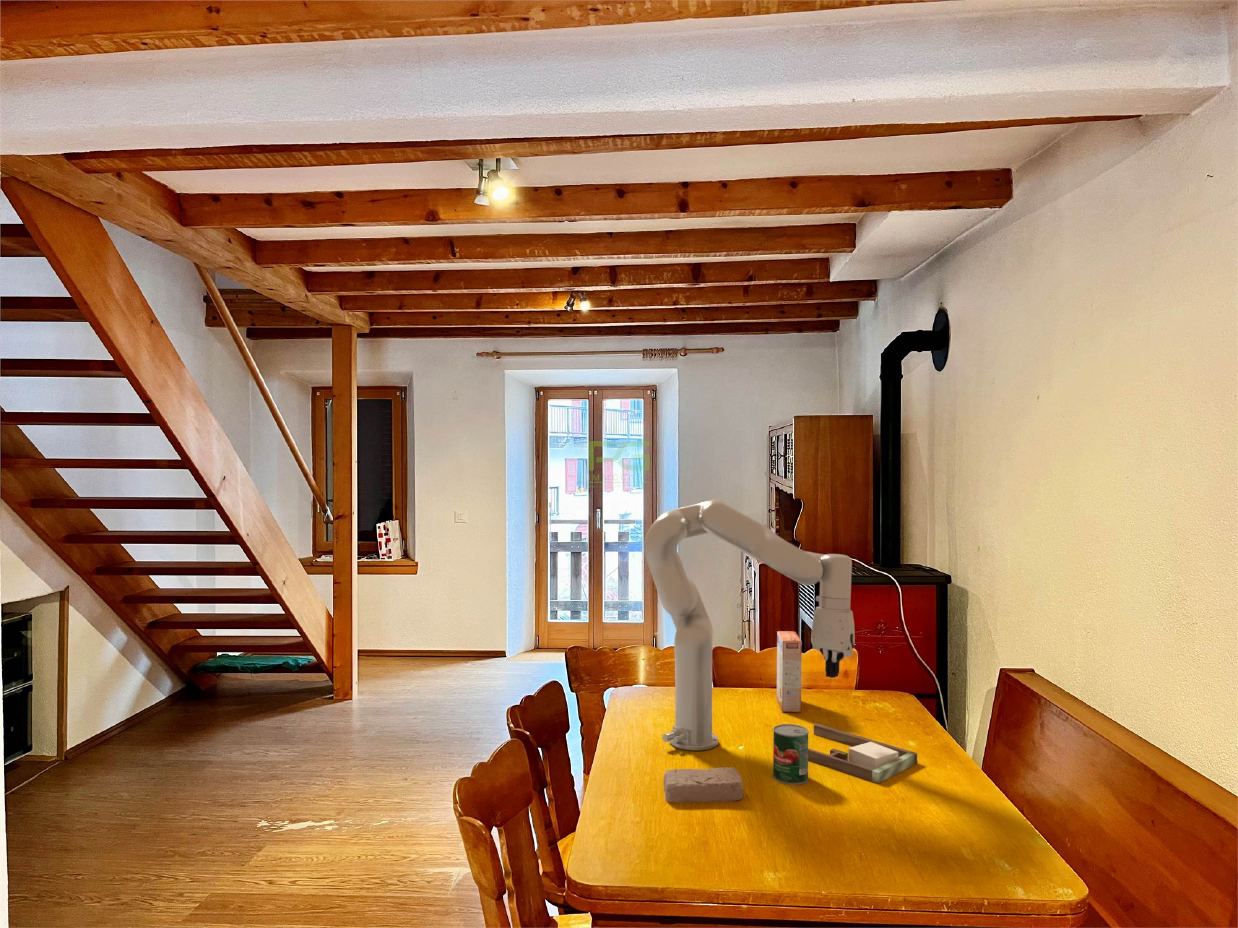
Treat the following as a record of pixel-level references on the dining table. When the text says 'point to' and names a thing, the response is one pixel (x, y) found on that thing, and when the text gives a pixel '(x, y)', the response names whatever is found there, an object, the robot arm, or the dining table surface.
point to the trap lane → (841, 763)
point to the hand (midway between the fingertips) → (832, 676)
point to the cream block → (871, 755)
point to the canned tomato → (790, 754)
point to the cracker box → (789, 671)
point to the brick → (703, 785)
